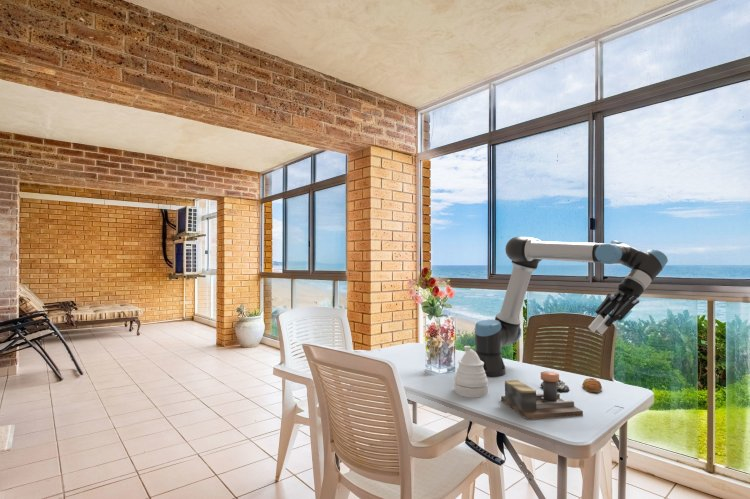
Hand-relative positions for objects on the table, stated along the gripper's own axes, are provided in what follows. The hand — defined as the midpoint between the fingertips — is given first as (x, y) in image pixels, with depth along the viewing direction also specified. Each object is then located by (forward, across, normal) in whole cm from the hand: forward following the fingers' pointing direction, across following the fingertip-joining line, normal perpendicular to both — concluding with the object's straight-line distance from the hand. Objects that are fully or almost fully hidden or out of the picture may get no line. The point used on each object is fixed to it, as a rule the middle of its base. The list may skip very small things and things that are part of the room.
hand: (594, 330), depth 143 cm
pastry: (+12, +15, -26) cm, 32 cm away
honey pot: (+46, +20, +9) cm, 51 cm away
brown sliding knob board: (+34, 0, -3) cm, 34 cm away
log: (+22, +19, -16) cm, 33 cm away
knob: (+30, 0, -5) cm, 31 cm away
